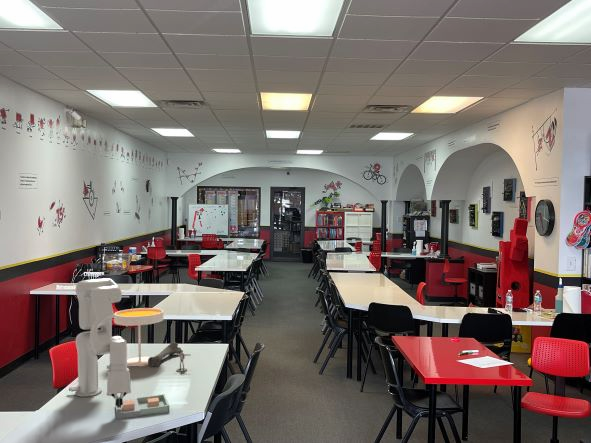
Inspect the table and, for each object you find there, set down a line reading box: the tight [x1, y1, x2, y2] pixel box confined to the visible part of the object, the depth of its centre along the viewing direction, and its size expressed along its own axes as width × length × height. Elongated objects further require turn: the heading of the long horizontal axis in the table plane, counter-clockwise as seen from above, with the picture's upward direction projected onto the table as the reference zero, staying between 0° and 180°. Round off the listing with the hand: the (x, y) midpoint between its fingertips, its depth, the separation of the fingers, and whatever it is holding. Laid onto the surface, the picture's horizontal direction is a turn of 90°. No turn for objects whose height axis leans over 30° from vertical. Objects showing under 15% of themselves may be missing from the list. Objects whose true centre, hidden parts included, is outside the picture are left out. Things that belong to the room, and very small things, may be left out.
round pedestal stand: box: [113, 307, 164, 367], centre depth 332 cm, size 30×30×31 cm
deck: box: [114, 398, 141, 420], centre depth 248 cm, size 10×17×2 cm, turn 21°
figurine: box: [172, 349, 191, 373], centre depth 313 cm, size 11×7×12 cm, turn 81°
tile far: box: [147, 398, 159, 407], centre depth 255 cm, size 5×5×2 cm
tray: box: [136, 393, 170, 417], centre depth 253 cm, size 13×17×3 cm
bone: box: [147, 341, 182, 368], centre depth 336 cm, size 32×10×9 cm, turn 165°
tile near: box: [123, 399, 135, 411], centre depth 246 cm, size 5×5×2 cm
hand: (119, 406), depth 244 cm, fingers closed
